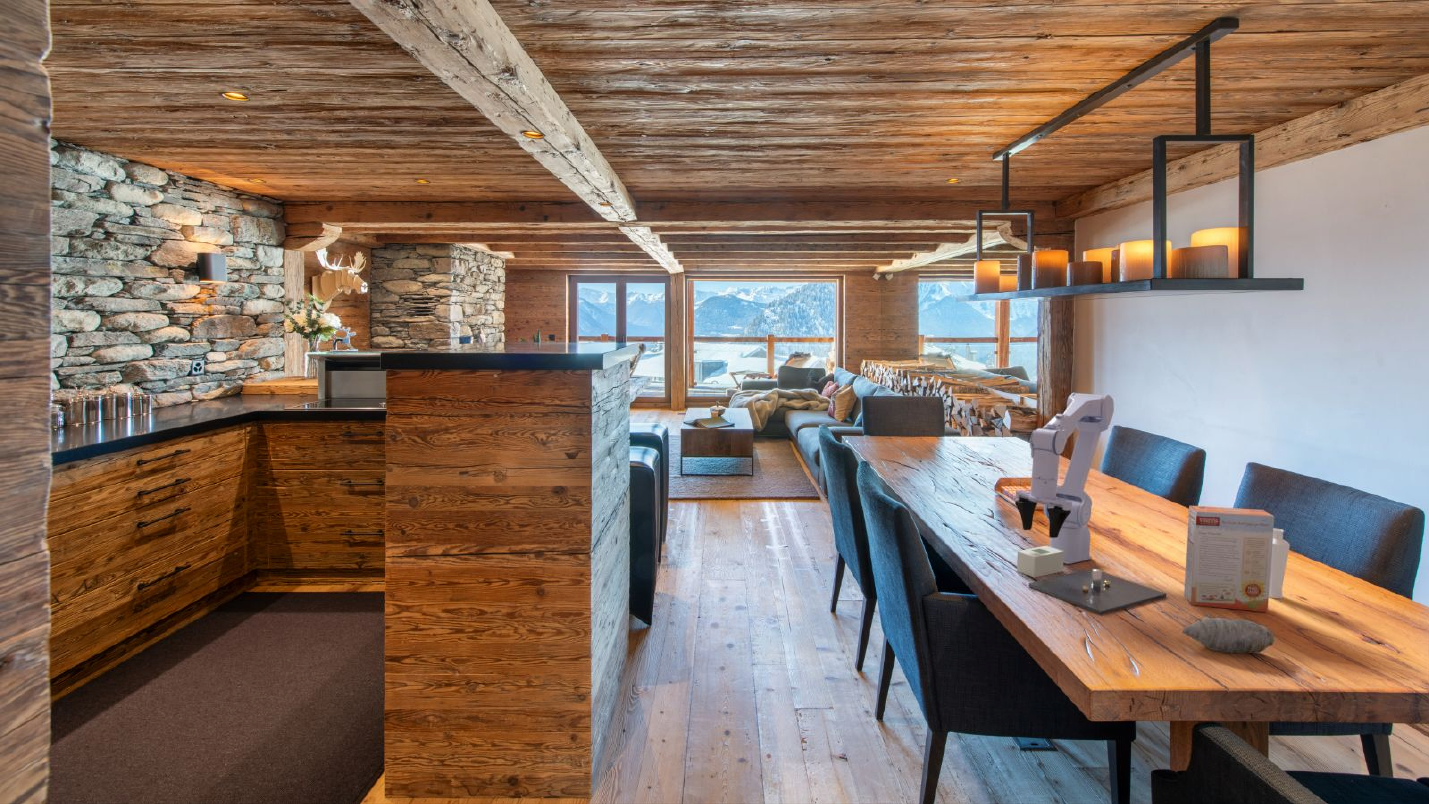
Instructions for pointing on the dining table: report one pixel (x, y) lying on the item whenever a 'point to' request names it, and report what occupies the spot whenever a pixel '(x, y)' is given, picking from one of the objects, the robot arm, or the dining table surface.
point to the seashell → (1230, 635)
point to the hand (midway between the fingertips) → (1040, 533)
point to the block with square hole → (1040, 561)
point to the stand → (1097, 591)
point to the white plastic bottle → (1278, 563)
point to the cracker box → (1229, 558)
